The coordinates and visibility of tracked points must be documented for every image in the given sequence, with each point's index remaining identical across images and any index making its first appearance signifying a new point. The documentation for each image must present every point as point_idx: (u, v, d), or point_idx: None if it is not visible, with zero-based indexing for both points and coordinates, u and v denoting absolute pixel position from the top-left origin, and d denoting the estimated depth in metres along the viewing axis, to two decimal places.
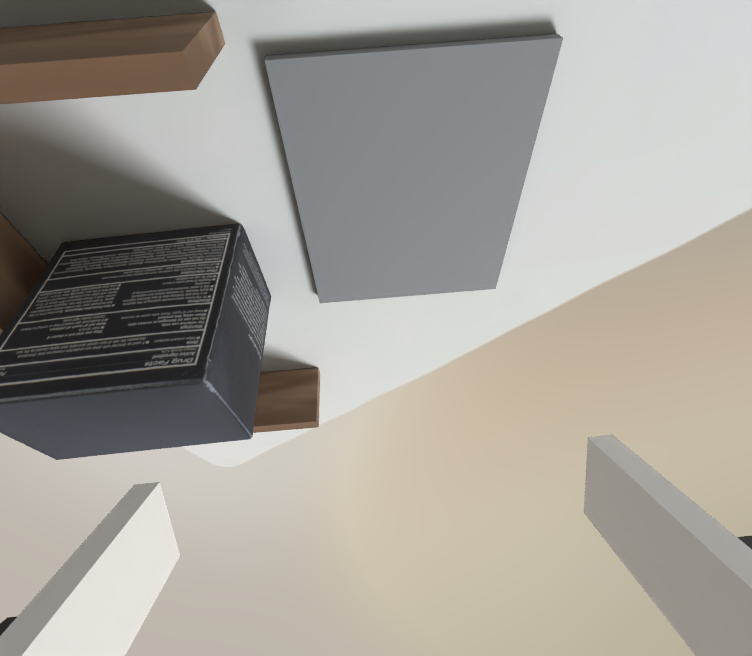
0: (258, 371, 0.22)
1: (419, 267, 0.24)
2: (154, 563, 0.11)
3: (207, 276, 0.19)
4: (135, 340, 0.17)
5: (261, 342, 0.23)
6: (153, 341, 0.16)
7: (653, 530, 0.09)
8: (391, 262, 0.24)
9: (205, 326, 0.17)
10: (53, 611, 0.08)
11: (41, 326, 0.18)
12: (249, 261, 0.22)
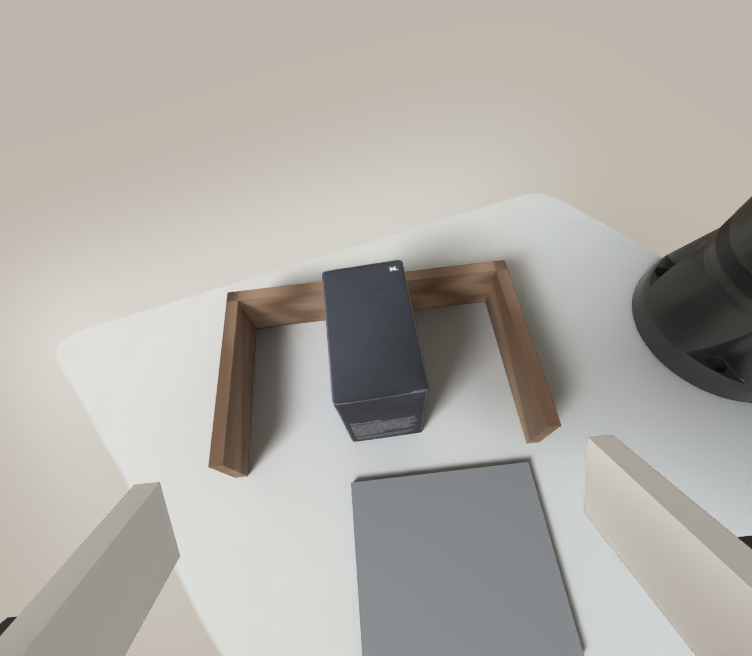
0: (350, 420, 0.27)
1: (392, 580, 0.27)
2: (154, 563, 0.11)
3: None
4: None
5: (356, 427, 0.28)
6: None
7: (654, 530, 0.09)
8: (398, 550, 0.28)
9: None
10: (53, 611, 0.08)
11: None
12: (402, 431, 0.31)
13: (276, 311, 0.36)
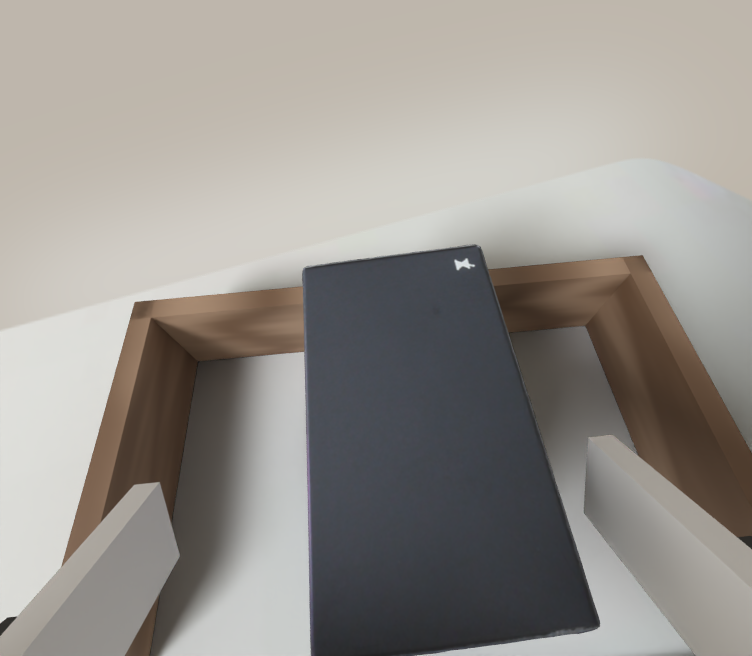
0: None
1: None
2: (154, 563, 0.11)
3: None
4: None
5: None
6: None
7: (653, 530, 0.09)
8: None
9: None
10: (53, 611, 0.08)
11: None
12: None
13: (226, 336, 0.20)
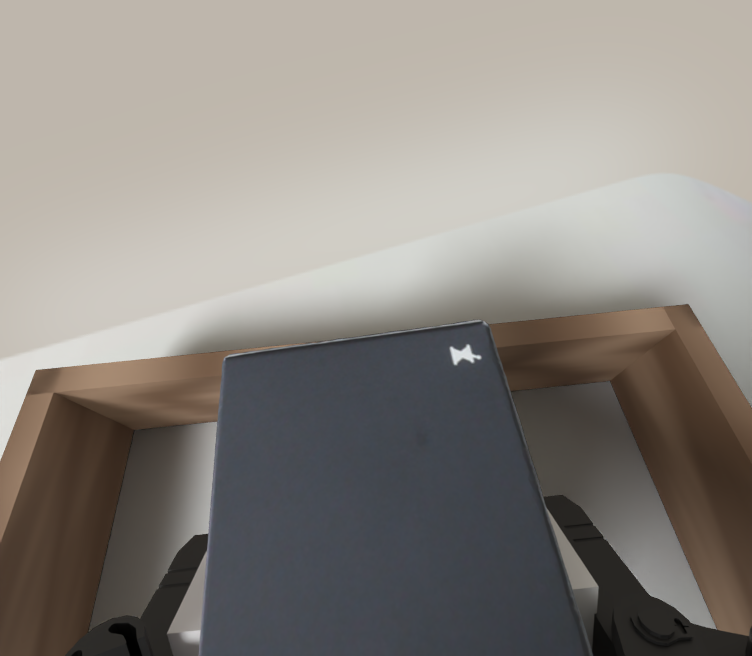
0: None
1: None
2: None
3: None
4: None
5: None
6: None
7: None
8: None
9: None
10: None
11: None
12: None
13: (162, 406, 0.16)
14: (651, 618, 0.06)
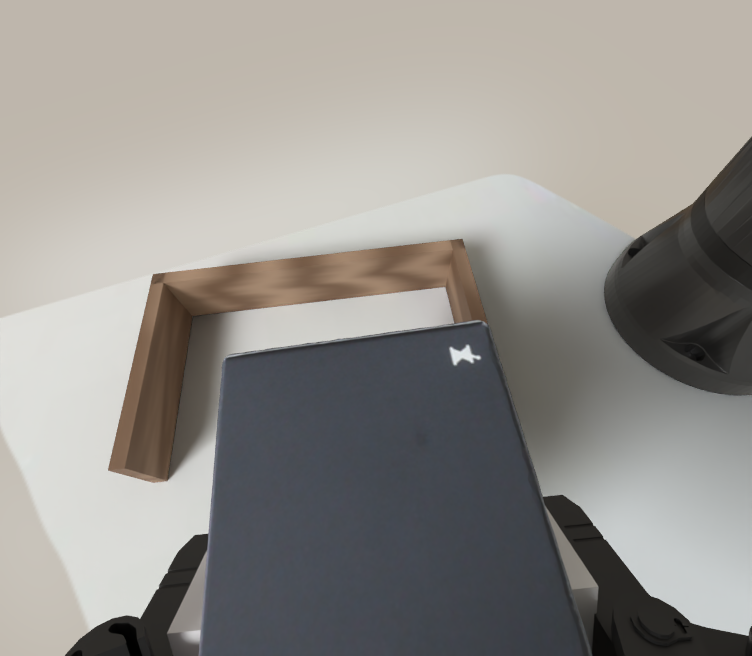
0: None
1: None
2: None
3: None
4: None
5: None
6: None
7: None
8: None
9: None
10: None
11: None
12: None
13: (210, 296, 0.32)
14: (651, 618, 0.06)
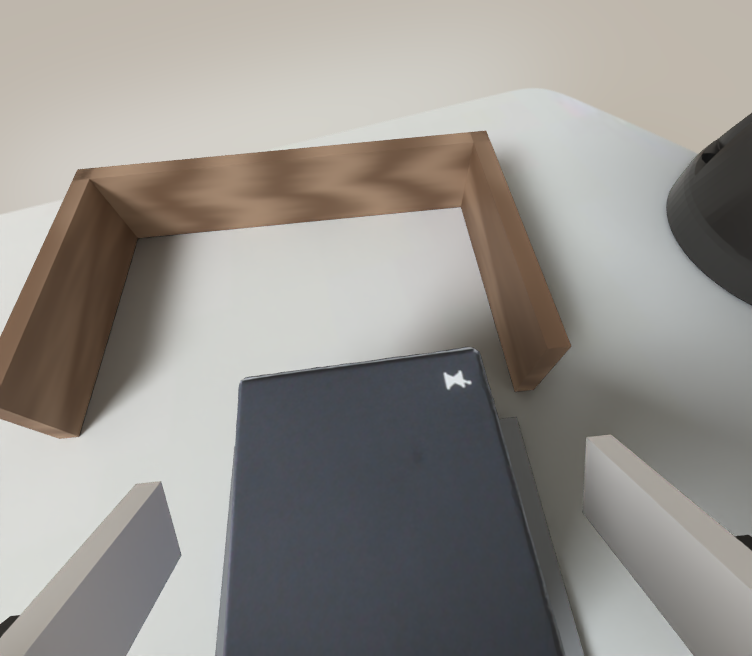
0: None
1: None
2: (156, 562, 0.11)
3: None
4: None
5: None
6: None
7: (651, 529, 0.09)
8: None
9: None
10: (56, 610, 0.08)
11: None
12: None
13: (156, 206, 0.25)
14: None
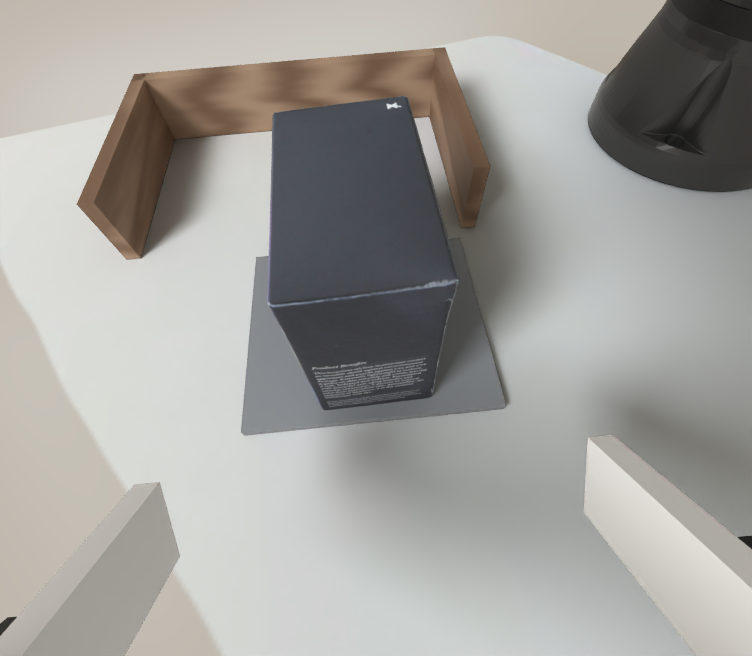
0: (310, 358, 0.15)
1: None
2: (154, 563, 0.11)
3: None
4: None
5: (323, 377, 0.17)
6: None
7: (653, 530, 0.09)
8: None
9: None
10: (53, 611, 0.08)
11: None
12: (400, 393, 0.19)
13: (192, 107, 0.32)
14: None
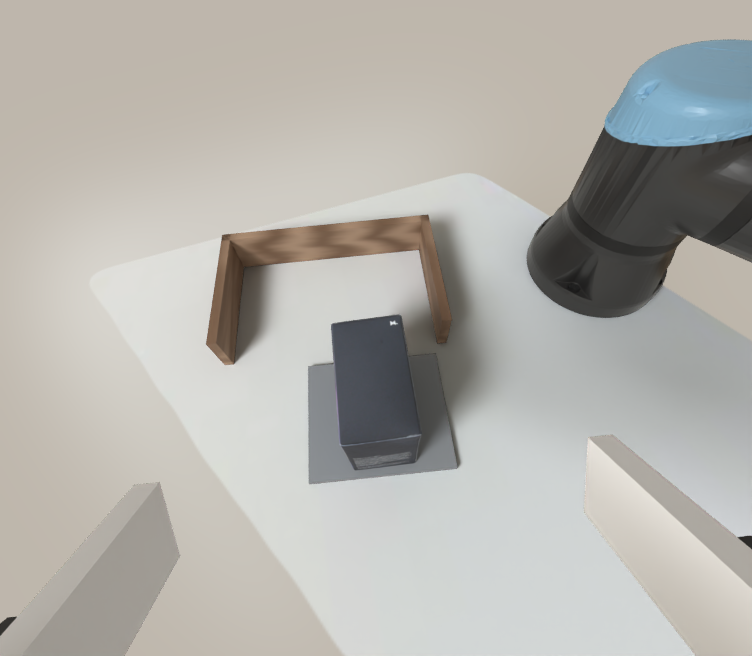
0: (353, 456, 0.31)
1: (332, 424, 0.38)
2: (154, 563, 0.11)
3: None
4: None
5: (358, 460, 0.32)
6: None
7: (653, 530, 0.09)
8: None
9: None
10: (53, 611, 0.08)
11: None
12: (398, 462, 0.35)
13: (258, 251, 0.48)
14: None
